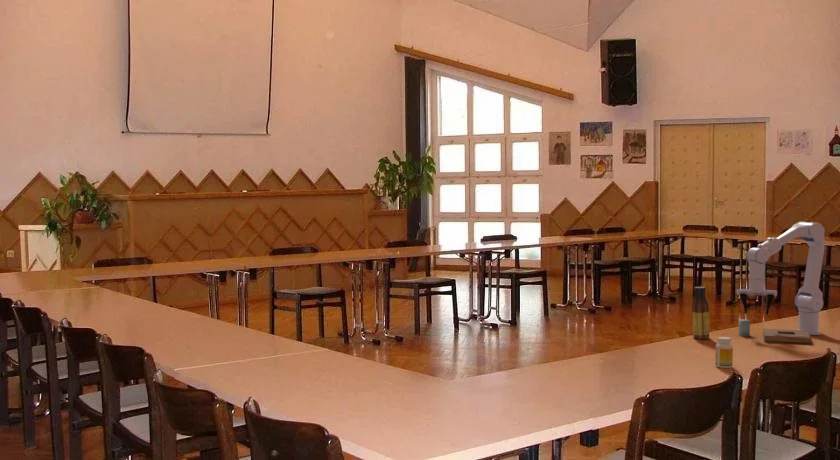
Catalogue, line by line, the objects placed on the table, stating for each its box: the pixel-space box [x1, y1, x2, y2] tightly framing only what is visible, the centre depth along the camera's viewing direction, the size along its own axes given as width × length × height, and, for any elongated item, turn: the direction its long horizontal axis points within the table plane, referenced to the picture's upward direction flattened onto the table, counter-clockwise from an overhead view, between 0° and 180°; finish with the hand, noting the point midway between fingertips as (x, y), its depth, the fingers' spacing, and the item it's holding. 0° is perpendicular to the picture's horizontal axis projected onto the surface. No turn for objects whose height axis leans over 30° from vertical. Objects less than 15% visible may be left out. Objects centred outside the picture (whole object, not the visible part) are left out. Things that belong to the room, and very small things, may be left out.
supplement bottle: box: [714, 336, 734, 369], centre depth 303 cm, size 5×5×10 cm
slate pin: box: [738, 318, 751, 337], centre depth 361 cm, size 4×4×6 cm
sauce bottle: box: [691, 286, 710, 340], centre depth 355 cm, size 7×6×20 cm
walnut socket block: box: [762, 328, 812, 345], centre depth 351 cm, size 16×16×2 cm
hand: (756, 313), depth 356 cm, fingers open, 7 cm apart
